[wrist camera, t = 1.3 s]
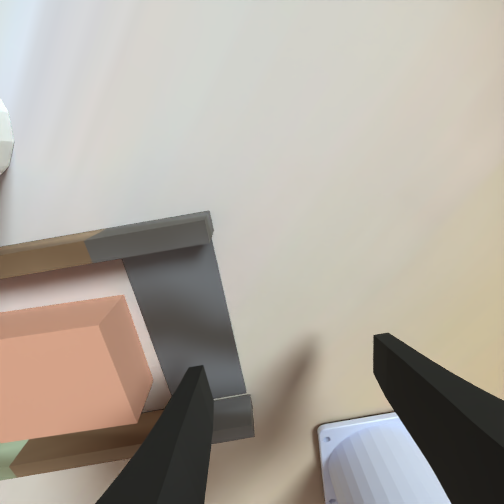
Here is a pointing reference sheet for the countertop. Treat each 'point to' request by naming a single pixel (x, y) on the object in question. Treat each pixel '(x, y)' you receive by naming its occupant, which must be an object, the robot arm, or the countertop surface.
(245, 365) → the countertop surface
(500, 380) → the countertop surface
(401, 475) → the robot arm
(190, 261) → the channel
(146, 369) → the brick block
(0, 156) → the shot glass
